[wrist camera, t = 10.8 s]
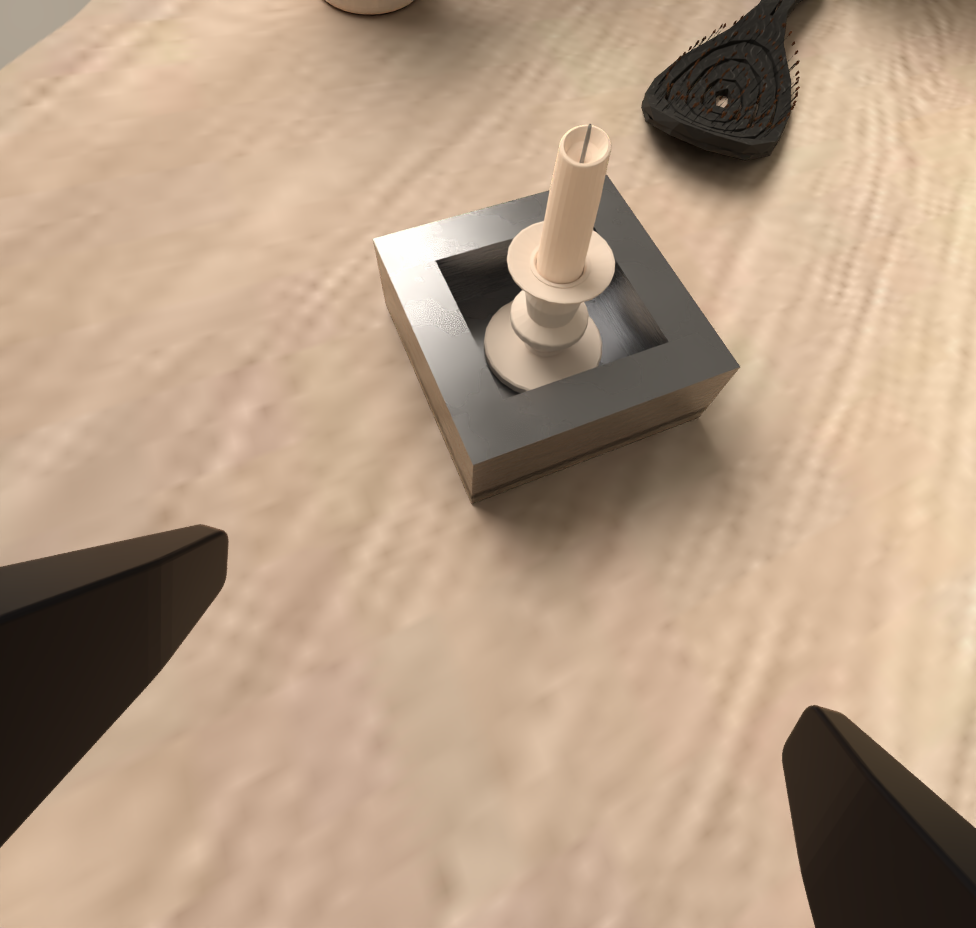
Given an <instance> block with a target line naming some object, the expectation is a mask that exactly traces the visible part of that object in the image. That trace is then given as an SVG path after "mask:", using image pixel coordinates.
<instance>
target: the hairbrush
mask: <svg viewBox="0 0 976 928" xmlns="http://www.w3.org/2000/svg"><path fill="white" fill-rule="evenodd" d="M801 1H802V0H781V3H780V6H779V7H778V9H777V10H776V8H777V5H778V3H779V0H761V1H760V3H759V4H758V5H757V6H756V7H755V8H753V9H752V10H751V11H750V12H749V13H747V14H746V15H745V16H744V17H743V16H742V17H741V19H740V20H739V21H738V22H737V23H736V21H735V22H734V24H735V25H733V26H732V27H731V28H730V29H728V30H726V31H725V32H723V33H721V34H719V35H717V36H716V37H714V36H713V37H714V38H712V39H711V40H709V39H708V40H709V41H708V40H707V42H705V43H704V44H702V45H701V44H700V45H698V43H699V40H698V41H697V42H696V45H698V47H697V48H695V49H692V50H691V51H690V52H688V53H686V52H684V53H683V56H680V57H679V58H678V60H676V61H675V62H674V63H673V64H671V65H670V66H669V67H668V68H667V69H665V70H664V71H663V72H662V73H661V74H659V75H658V76H657V77H656V78H655V79H654V80H653V82H652V84H651V85H650V87H649V88H648V90H647V91H646V93H645V96H644V100H643V101H642V107H641V108H642V111H643V114H644V118H645V121H646V122H648V123H649V124H651V125H653V126H655V127H656V128H658V129H660V130H662V131H664V132H665V133H667V134H669V135H671V136H673V137H676V138H678V139H680V140H683V141H685V142H687V143H690V144H692V145H694V146H697V147H699V148H702V149H704V150H707V151H711V152H715V153H719V154H723V155H727V156H731V157H734V158H738V159H742V160H749V159H754V158H759V157H764V156H769V155H770V154H771V153H772V151H773V149H774V148H775V146H776V145H777V143H778V141H779V140H780V138H781V135H782V133H783V130H784V128H785V125H786V123H787V121H788V118H789V116H790V113H791V110H793V108H794V107H793V106H795V103H796V102H797V101H794V103H793V104H794V105H793V106H792V107H791V102H792V101H793V100H794V99H795V98H796V97H797V96H798V91H797V90H798V89H799V88H800V87H799V86H798V87H797V88H796V91H797V92H796V91H795V92H796V94H795V95H796V96H795V97H794V98H793V99H792V100H791V88H792V87H793V86H794V85H795V84H797V83H798V81H799V78H800V77H797V78H796V81H797V80H798V81H797V82H796V83H795V84H794V85H793V86H792V87H791V79H790V74H789V72H790V71H791V70H792V69H793V68H794V67H795V66H796V65H797V64H799V60H798V61H797V62H796V63H795V64H796V65H795V64H794V65H795V66H794V65H793V66H794V67H793V66H792V67H793V68H792V67H791V68H792V69H791V68H790V69H791V70H790V69H788V64H787V59H786V54H785V53H786V52H785V49H784V36H785V28H786V19H787V17H788V16H789V14H790V13H791V12H792V10H793V9H794V8H795V6H796V5H797V3H799V2H801ZM775 10H776V12H775ZM725 26H726V23H725V24H724V26H722V25H721V27H723V29H724V28H725ZM721 27H720V28H721ZM715 31H716V29H715V30H714V31H713V33H712V35H713V34H714V33H715ZM717 32H718V31H717ZM720 32H721V31H720ZM720 32H719V33H720ZM791 33H792V31H790V33H789V35H790V34H791ZM712 35H711V36H712ZM711 36H710V37H711ZM787 37H788V36H787ZM787 37H786V38H787ZM705 39H706V36H705V38H703V39H702V41H701V43H702V42H703V41H704V40H705ZM794 44H795V42H793V44H792V45H794ZM696 45H695V46H696ZM695 46H694V47H695ZM694 47H693V48H694ZM691 48H692V46H691V47H690V48H689V50H690V49H691ZM689 50H688V51H689ZM797 52H798V51H796V52H795V54H797ZM685 53H686V54H685ZM795 54H794V55H795ZM789 70H790V71H789ZM684 73H685V74H684ZM683 74H684V75H683ZM797 74H799V71H798V72H797V73H796V74H795V75H797ZM682 75H683V76H682ZM681 76H682V77H681ZM702 76H703V77H702ZM701 77H702V78H701ZM700 78H701V79H700ZM698 79H700V80H699V82H698V83H697V84H696V85H695V87H694V88H693V89H692V90H691V91H690V93H689V95H687V93H688V91H689V90H690V89H691V88H692V86H693V85H694V84H695V83H696V81H697V80H698ZM710 87H712V88H711V89H710V90H709V91H708V92H707V93H706V95H705V98H704V102H703V103H702V104H703V105H702V104H701V103H700V100H701V99H702V98H703V95H704V93H705V92H706V91H707V90H708V89H709V88H710ZM670 88H672V89H671V91H670V94H669V96H668V99H667V100H666V99H665V96H666V94H667V93H668V91H669V89H670ZM686 95H687V96H686ZM719 95H720V96H721V97H720V98H719V99H720V100H721V98H722V97H723V96H726V97H727V98H728V104H727V105H726V106H725V107H724V108H722V107H720V106H721V105H722V104H721V105H720V106H716V97H717V96H719ZM757 96H758V100H757ZM687 98H688V100H687ZM775 99H776V100H775ZM685 100H687V103H685ZM757 103H758V110H757V113H756V117H755V119H754V120H753V121H754V122H753V124H752V126H751V128H748V127H749V126H750V123H749V122H750V119H751V117H752V115H753V113H754V111H755V108H756V104H757ZM775 103H776V108H775V115H774V119H773V122H772V123H771V122H769V121H770V119H771V117H772V115H773V112H774V105H775ZM686 104H687V105H686ZM740 104H741V111H740V114H738V116H737V117H738V118H736V119H735V120H733V119H734V118H735V115H736V113H737V112H738V111H739V110H738V108H739V106H740ZM771 124H772V125H771ZM769 125H771V127H770V128H769V129H767V130H766V131H765V129H766V127H769ZM746 128H748V129H746ZM764 131H765V132H764Z"/></svg>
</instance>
